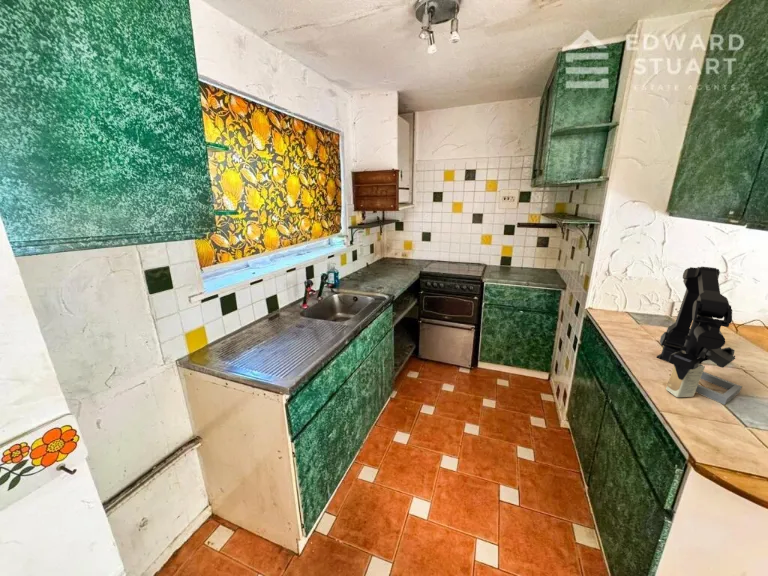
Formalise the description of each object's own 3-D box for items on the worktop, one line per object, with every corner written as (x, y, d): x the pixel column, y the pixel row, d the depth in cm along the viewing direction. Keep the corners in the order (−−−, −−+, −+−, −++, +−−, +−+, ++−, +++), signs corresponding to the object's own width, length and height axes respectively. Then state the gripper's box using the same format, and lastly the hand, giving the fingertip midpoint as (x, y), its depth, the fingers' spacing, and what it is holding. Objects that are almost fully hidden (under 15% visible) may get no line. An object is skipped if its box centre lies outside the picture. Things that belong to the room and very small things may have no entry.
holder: (691, 372, 117) (693, 367, 116) (739, 392, 106) (742, 386, 105) (675, 383, 112) (677, 377, 111) (724, 404, 101) (727, 398, 100)
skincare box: (681, 389, 108) (693, 359, 104) (694, 397, 104) (706, 366, 100) (664, 389, 108) (675, 359, 104) (676, 397, 104) (687, 366, 100)
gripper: (724, 354, 87) (705, 398, 93) (748, 339, 95) (730, 380, 101) (675, 338, 97) (661, 379, 102) (700, 325, 105) (686, 363, 110)
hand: (685, 375), depth 103 cm, fingers closed on skincare box, 7 cm apart
